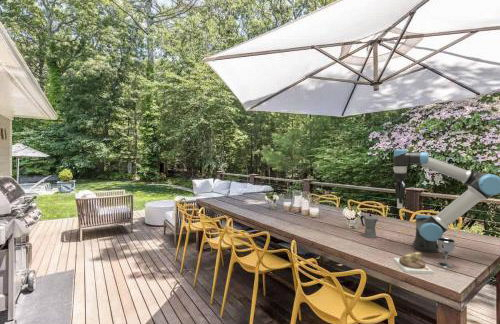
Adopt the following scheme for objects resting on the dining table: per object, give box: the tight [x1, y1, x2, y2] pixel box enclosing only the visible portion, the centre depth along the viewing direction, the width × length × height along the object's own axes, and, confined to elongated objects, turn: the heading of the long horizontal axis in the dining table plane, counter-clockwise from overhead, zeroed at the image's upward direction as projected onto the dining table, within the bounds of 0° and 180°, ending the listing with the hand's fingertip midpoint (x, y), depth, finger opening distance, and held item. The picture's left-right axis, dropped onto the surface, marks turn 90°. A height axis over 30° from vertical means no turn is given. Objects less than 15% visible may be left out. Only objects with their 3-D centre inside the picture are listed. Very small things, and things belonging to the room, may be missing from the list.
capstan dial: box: [399, 251, 426, 268], centre depth 158 cm, size 14×13×6 cm
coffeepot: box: [359, 213, 379, 239], centre depth 216 cm, size 15×9×18 cm, turn 33°
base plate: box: [393, 257, 434, 275], centre depth 159 cm, size 14×18×2 cm
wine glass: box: [437, 237, 456, 269], centre depth 160 cm, size 8×8×15 cm
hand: (399, 208), depth 182 cm, fingers closed
